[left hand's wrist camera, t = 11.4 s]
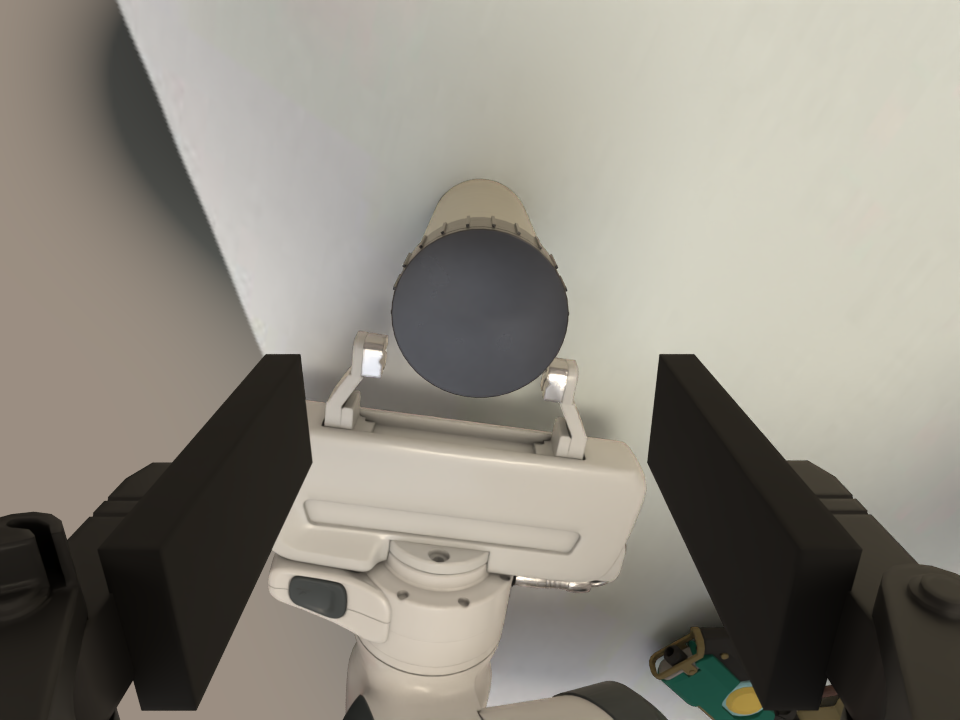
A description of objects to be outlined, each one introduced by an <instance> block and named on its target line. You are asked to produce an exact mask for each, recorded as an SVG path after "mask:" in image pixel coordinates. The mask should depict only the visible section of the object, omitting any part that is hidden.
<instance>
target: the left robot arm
mask: <svg viewBox="0 0 960 720" xmlns="http://www.w3.org/2000/svg"><path fill="white" fill-rule="evenodd" d="M312 463H313V461H312V452H311V443H310V434H309V425H308V416H307V408H306V399H305V390H304V381H303V372H302V363H301V355H300V354H266V355H265V356H264V357H263V358H262V359H261V360H260V362H259V363H258V364H257V365H256V366H255V367H254V369H253V370H252V371H251V372H250V373H249V374H248V375H247V377H246V378H245V379H244V380H243V381H242V382H241V384H240V385H239V386H238V387H237V388H236V389H235V390H234V392H233V393H232V394H231V395H230V396H229V398H228V399H227V400H226V401H225V402H224V403H223V404H222V406H221V407H220V408H219V409H218V410H217V411H216V412H215V414H214V415H213V416H212V417H211V418H210V419H209V421H208V422H207V423H206V424H205V425H204V426H203V428H202V429H201V430H200V431H199V432H198V433H197V434H196V436H195V437H194V438H193V439H192V440H191V441H190V443H189V444H188V445H187V446H186V447H185V448H184V450H183V451H182V452H181V453H180V454H179V455H178V457H177V458H176V459H175V460H174V461H173V462H172V463H151V464H149V465H148V466H146V467H144V468H143V469H141V470H139V471H138V472H136V473H134V474H133V475H131V476H129V477H128V478H126V479H125V480H124V481H123V482H122V483H121V484H120V485H119V486H118V487H117V488H116V489H115V490H114V491H113V493H112V494H111V495H110V496H109V497H108V501H104V502H103V503H102V504H101V505H100V506H99V507H98V508H97V509H96V510H95V511H94V513H93V517H89V518H88V519H87V520H86V521H85V522H84V523H83V524H82V525H81V526H80V527H79V528H78V529H77V530H76V531H75V532H74V534H73V535H72V536H71V537H70V538H69V539H68V540H67V538H66V535H65V532H64V528H63V525H62V521H61V520H60V519H58V518H57V517H55V516H53V515H52V514H47V513H39V512H28V513H18V514H10V515H7V516H4V517H0V720H120V718H119V715H118V711H117V706H118V704H119V703H120V701H121V699H122V698H123V696H124V694H125V693H126V691H127V689H128V688H129V686H130V684H131V683H132V681H134V685H135V689H136V692H137V696H138V699H139V703H140V707H141V710H142V711H196V710H197V708H198V706H199V704H200V702H201V700H202V697H203V695H204V693H205V691H206V689H207V687H208V685H209V682H210V680H211V678H212V676H213V674H214V672H215V670H216V668H217V665H218V663H219V661H220V659H221V657H222V655H223V653H224V651H225V648H226V646H227V644H228V642H229V640H230V638H231V636H232V634H233V631H234V629H235V627H236V625H237V623H238V621H239V619H240V616H241V614H242V612H243V610H244V608H245V606H246V604H247V602H248V599H249V597H250V595H251V593H252V591H253V589H254V587H255V584H256V582H257V580H258V578H259V576H260V574H261V572H262V570H263V567H264V565H265V563H266V561H267V559H268V557H269V555H270V553H271V550H272V548H273V546H274V544H275V542H276V540H277V538H278V536H279V533H280V531H281V529H282V527H283V525H284V523H285V521H286V518H287V516H288V514H289V512H290V510H291V508H292V506H293V504H294V501H295V499H296V497H297V495H298V493H299V491H300V489H301V487H302V484H303V482H304V480H305V478H306V476H307V474H308V472H309V469H310V467H311V465H312ZM647 463H648V465H649V467H650V469H651V472H652V474H653V476H654V478H655V480H656V482H657V484H658V487H659V489H660V491H661V493H662V495H663V497H664V499H665V501H666V504H667V506H668V508H669V510H670V512H671V514H672V516H673V518H674V521H675V523H676V525H677V527H678V529H679V531H680V533H681V536H682V538H683V540H684V542H685V544H686V546H687V548H688V550H689V553H690V555H691V557H692V559H693V561H694V563H695V565H696V567H697V570H698V572H699V574H700V576H701V578H702V580H703V582H704V585H705V587H706V589H707V591H708V593H709V595H710V597H711V599H712V602H713V604H714V606H715V608H716V610H717V612H718V614H719V616H720V619H721V621H722V623H723V625H724V627H725V629H726V631H727V634H728V636H729V638H730V640H731V642H732V644H733V646H734V648H735V651H736V653H737V655H738V657H739V659H740V661H741V663H742V665H743V668H744V670H745V672H746V674H747V676H748V678H749V680H750V683H751V685H752V687H753V689H754V691H755V693H756V695H757V697H758V700H759V702H760V704H761V706H762V708H763V710H764V711H818V710H819V707H820V703H821V699H822V696H823V692H824V689H825V685H826V681H827V678H828V680H829V681H830V683H831V684H832V686H833V688H834V689H835V691H836V693H837V694H838V696H839V698H840V699H841V701H842V703H843V704H844V708H843V711H842V715H841V718H840V720H960V575H958V574H956V573H953V572H949V571H946V570H943V569H940V568H937V567H934V566H929V565H921V564H918V563H917V562H916V561H915V560H914V559H913V558H912V557H911V556H910V554H909V553H908V552H907V551H906V550H905V549H904V548H903V547H902V546H901V545H900V544H899V543H898V542H897V541H896V540H895V539H894V538H893V537H892V536H891V535H890V534H889V533H888V532H887V530H886V529H885V528H884V527H883V526H882V525H881V524H880V523H879V522H878V521H877V520H876V519H875V518H874V517H873V516H872V515H868V513H867V510H866V509H865V508H864V506H863V505H862V504H861V503H860V502H859V501H858V500H857V499H853V497H852V496H853V495H852V494H851V493H850V492H849V491H848V490H847V489H846V488H845V487H844V486H843V485H842V484H841V482H840V481H839V480H838V479H837V478H836V477H835V476H833V475H831V474H830V473H828V472H826V471H825V470H823V469H821V468H820V467H818V466H816V465H814V464H813V463H811V462H809V461H786V460H785V459H784V458H783V456H782V455H781V454H780V453H779V452H778V451H777V450H776V448H775V447H774V446H773V445H772V444H771V443H770V441H769V440H768V439H767V438H766V437H765V436H764V434H763V433H762V432H761V431H760V430H759V429H758V428H757V426H756V425H755V424H754V423H753V422H752V421H751V419H750V418H749V417H748V416H747V415H746V414H745V412H744V411H743V410H742V409H741V408H740V407H739V406H738V404H737V403H736V402H735V401H734V400H733V399H732V397H731V396H730V395H729V394H728V393H727V392H726V390H725V389H724V388H723V387H722V386H721V385H720V384H719V382H718V381H717V380H716V379H715V378H714V377H713V375H712V374H711V373H710V372H709V371H708V370H707V368H706V367H705V366H704V365H703V364H702V363H701V362H700V360H699V359H698V358H697V357H696V356H695V355H694V354H660V355H659V363H658V372H657V381H656V390H655V399H654V408H653V416H652V425H651V434H650V443H649V452H648V461H647Z"/></svg>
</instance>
